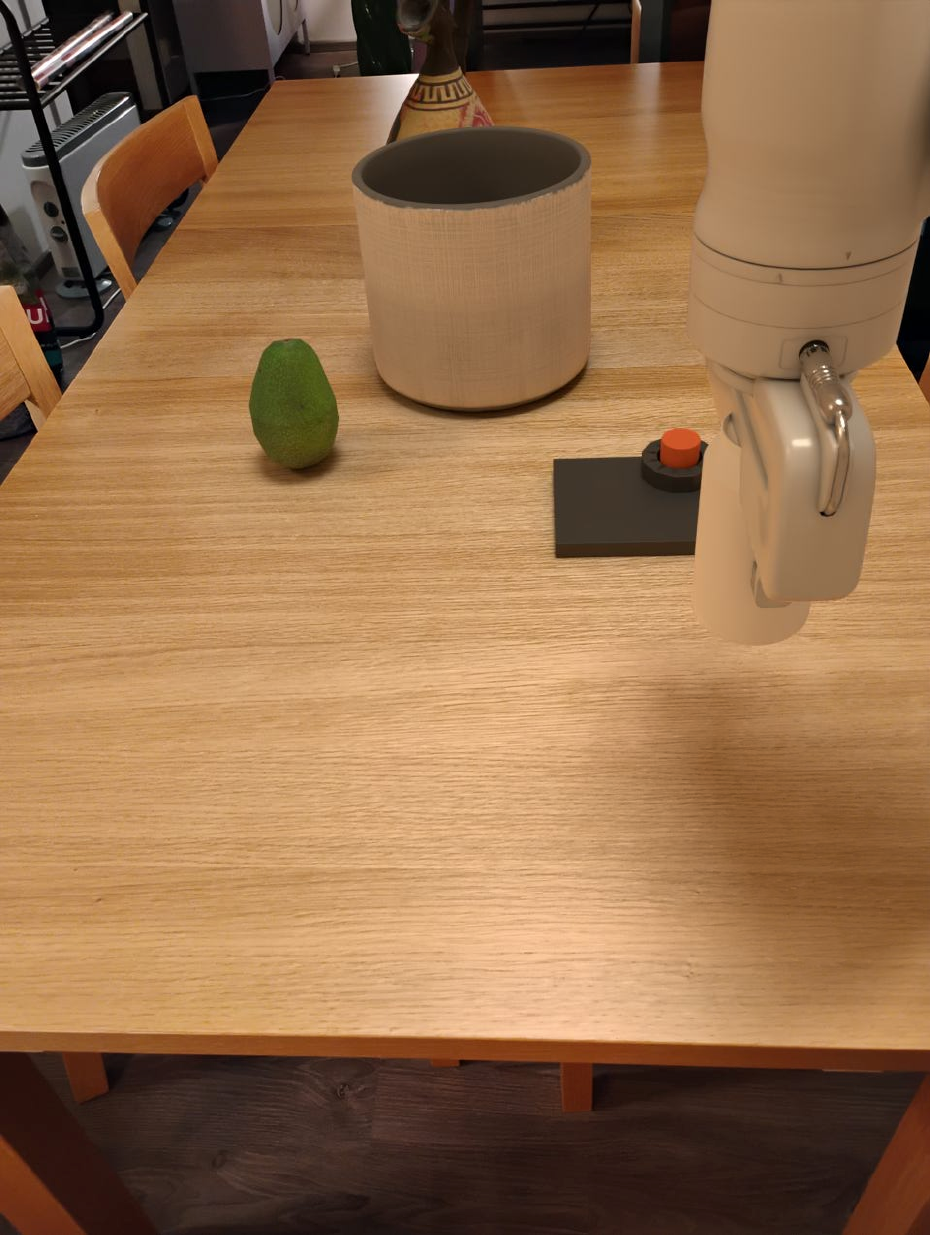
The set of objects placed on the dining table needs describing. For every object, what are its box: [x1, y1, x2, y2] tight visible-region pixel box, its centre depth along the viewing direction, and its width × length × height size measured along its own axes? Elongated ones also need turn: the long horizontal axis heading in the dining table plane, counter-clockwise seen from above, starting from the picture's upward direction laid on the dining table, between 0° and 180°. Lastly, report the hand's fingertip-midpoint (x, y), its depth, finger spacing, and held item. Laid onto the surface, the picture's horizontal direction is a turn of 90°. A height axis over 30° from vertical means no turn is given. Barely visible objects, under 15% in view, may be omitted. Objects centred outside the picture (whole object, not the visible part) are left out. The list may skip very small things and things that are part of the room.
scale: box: [552, 438, 710, 558], centre depth 82 cm, size 14×12×3 cm
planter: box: [351, 125, 592, 413], centre depth 96 cm, size 22×22×20 cm
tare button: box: [660, 428, 702, 469], centre depth 83 cm, size 3×3×2 cm
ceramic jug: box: [385, 0, 495, 145], centre depth 117 cm, size 17×15×30 cm
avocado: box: [248, 338, 340, 470], centre depth 88 cm, size 8×8×12 cm
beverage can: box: [690, 412, 812, 647], centre depth 50 cm, size 6×6×12 cm
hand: (757, 549), depth 51 cm, fingers closed on beverage can, 6 cm apart
